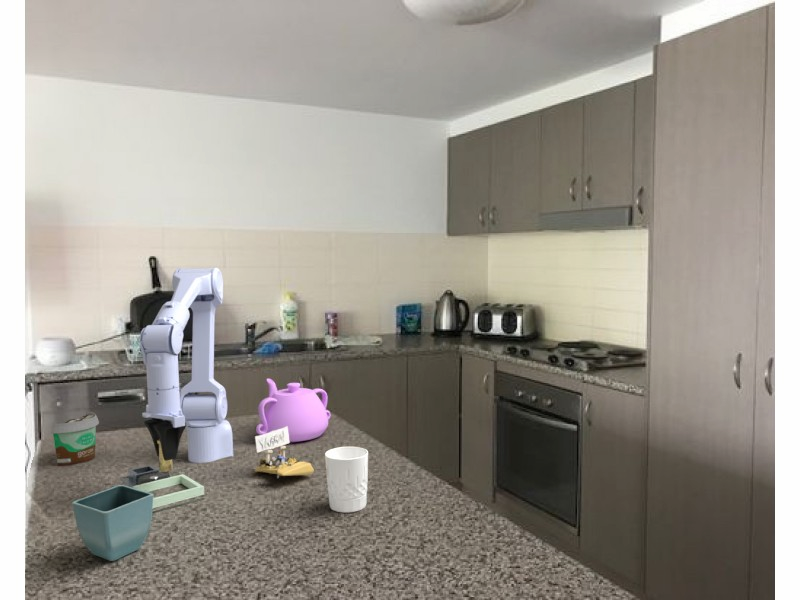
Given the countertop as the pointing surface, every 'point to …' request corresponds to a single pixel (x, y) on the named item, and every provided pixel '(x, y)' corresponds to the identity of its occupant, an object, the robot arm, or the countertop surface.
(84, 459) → the food container
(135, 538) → the flower pot
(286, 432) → the figurine with sign
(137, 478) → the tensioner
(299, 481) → the countertop surface
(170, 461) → the pin
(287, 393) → the teapot
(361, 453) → the white cup
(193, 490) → the tray
